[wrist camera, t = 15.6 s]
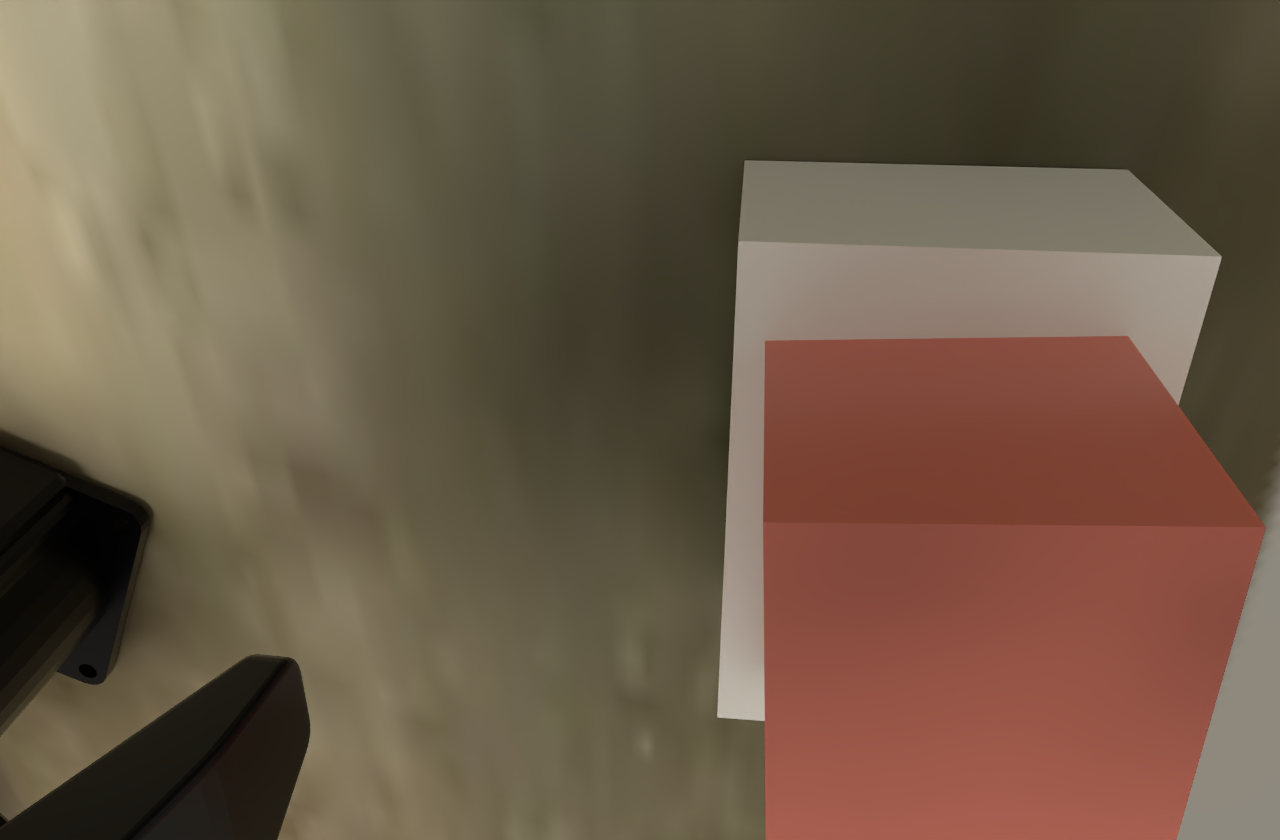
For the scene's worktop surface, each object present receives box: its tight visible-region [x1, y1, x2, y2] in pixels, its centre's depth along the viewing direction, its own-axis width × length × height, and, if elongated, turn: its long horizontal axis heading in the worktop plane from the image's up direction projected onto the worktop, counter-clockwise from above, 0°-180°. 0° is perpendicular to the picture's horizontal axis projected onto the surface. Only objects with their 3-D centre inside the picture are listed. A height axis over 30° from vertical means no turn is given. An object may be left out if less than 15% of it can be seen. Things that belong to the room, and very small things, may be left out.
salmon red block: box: [763, 336, 1266, 840], centre depth 15 cm, size 7×6×5 cm
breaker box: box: [717, 160, 1222, 721], centre depth 20 cm, size 10×7×4 cm
